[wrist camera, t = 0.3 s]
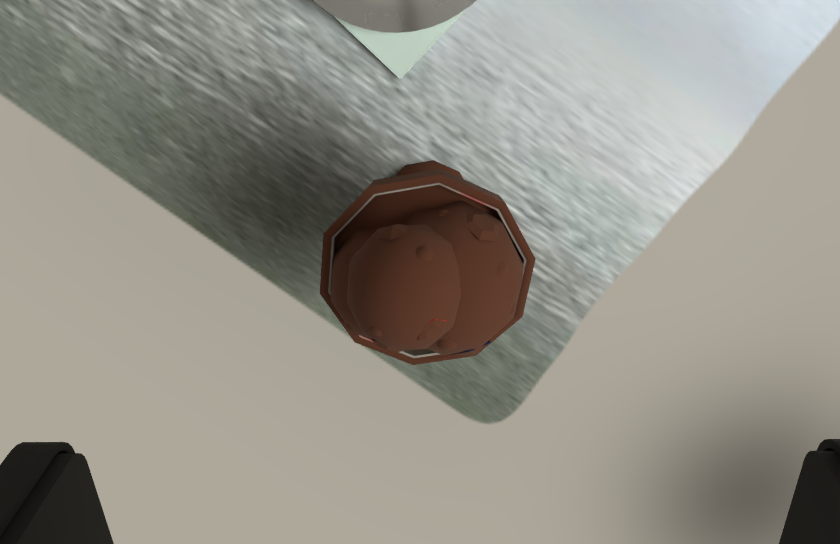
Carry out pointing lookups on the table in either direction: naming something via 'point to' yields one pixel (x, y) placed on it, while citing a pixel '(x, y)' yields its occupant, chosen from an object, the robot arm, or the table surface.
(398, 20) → the lid
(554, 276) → the table surface
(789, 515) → the robot arm
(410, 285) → the ice cream bowl
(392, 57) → the mat
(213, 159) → the table surface
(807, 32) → the table surface
